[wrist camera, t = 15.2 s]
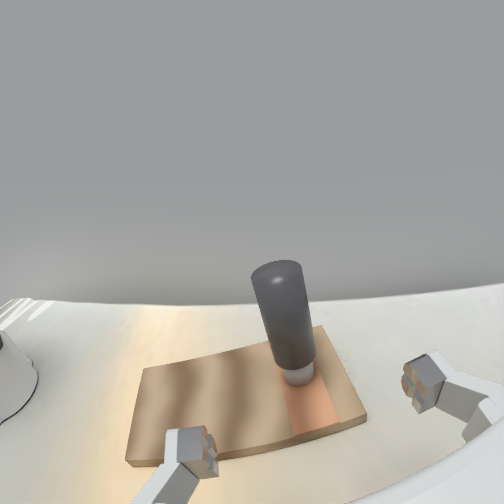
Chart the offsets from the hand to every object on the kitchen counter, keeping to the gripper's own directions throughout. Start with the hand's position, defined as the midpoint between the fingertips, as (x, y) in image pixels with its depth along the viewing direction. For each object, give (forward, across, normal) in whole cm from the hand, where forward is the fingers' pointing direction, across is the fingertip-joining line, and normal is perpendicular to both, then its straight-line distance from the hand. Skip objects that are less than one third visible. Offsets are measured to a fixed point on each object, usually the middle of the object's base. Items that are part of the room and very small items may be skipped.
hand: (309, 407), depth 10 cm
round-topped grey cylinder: (+13, +1, -13) cm, 19 cm away
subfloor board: (+14, -6, -15) cm, 21 cm away
